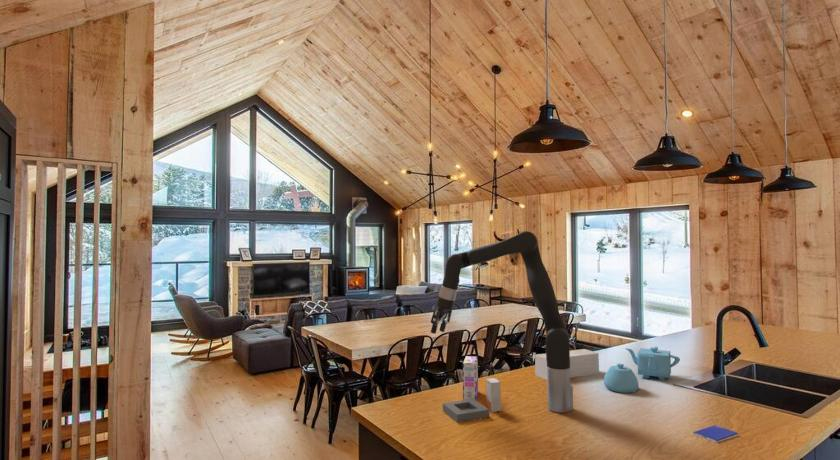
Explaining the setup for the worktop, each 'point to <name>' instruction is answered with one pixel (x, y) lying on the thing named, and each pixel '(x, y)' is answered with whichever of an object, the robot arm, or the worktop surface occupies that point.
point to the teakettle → (654, 362)
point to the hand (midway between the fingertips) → (437, 332)
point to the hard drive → (715, 433)
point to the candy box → (470, 378)
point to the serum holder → (465, 410)
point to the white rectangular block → (572, 363)
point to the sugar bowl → (621, 379)
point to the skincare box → (493, 394)
